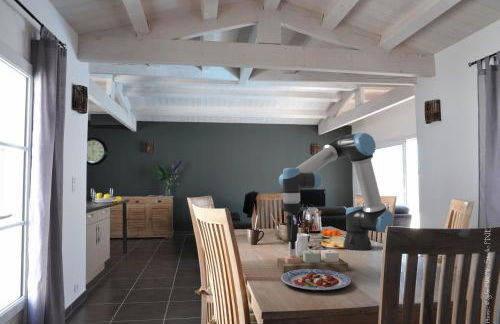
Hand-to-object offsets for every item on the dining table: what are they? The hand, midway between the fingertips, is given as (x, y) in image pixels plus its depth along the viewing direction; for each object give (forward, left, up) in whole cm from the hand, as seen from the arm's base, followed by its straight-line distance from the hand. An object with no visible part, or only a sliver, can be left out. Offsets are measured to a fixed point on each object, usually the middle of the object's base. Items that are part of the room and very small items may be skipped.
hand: (292, 256), depth 151 cm
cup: (-10, -25, -6) cm, 27 cm away
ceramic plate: (-4, +22, -6) cm, 23 cm away
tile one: (-17, 0, -3) cm, 17 cm away
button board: (-9, 0, -5) cm, 10 cm away
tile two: (-9, 0, -3) cm, 9 cm away
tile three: (0, 0, -5) cm, 5 cm away
